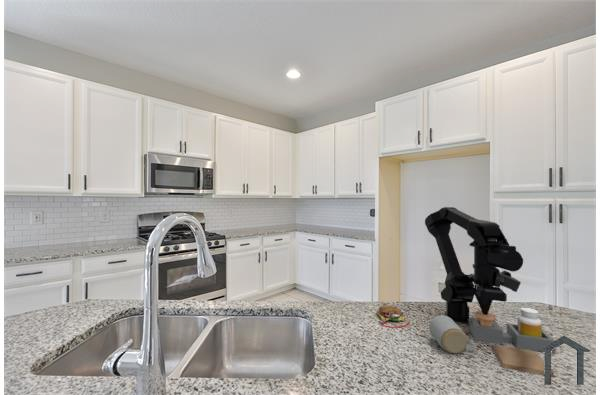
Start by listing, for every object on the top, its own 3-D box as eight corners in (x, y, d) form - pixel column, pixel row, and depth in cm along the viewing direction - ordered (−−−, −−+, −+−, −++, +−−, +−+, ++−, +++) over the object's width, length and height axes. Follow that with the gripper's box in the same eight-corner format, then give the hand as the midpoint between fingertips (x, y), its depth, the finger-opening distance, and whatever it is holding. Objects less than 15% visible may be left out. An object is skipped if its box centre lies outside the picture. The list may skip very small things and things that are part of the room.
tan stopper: (477, 334, 83) (477, 316, 84) (473, 327, 88) (473, 310, 88) (497, 338, 82) (497, 319, 82) (492, 330, 86) (492, 312, 86)
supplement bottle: (546, 349, 78) (546, 314, 78) (524, 347, 79) (524, 312, 79) (534, 340, 83) (534, 307, 83) (513, 338, 84) (513, 306, 84)
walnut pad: (503, 367, 69) (503, 363, 69) (491, 347, 78) (491, 344, 78) (553, 376, 65) (553, 372, 65) (535, 355, 75) (535, 351, 75)
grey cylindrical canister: (441, 355, 74) (441, 326, 74) (428, 339, 83) (429, 313, 83) (481, 357, 74) (482, 328, 74) (465, 341, 82) (465, 315, 82)
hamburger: (363, 312, 104) (363, 296, 104) (400, 312, 105) (400, 296, 105) (375, 329, 90) (375, 310, 90) (417, 328, 91) (417, 310, 91)
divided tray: (475, 341, 82) (475, 327, 82) (469, 328, 90) (469, 316, 90) (555, 354, 75) (555, 339, 75) (541, 339, 83) (541, 326, 83)
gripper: (529, 273, 74) (529, 332, 73) (506, 259, 91) (506, 307, 91) (480, 269, 78) (480, 325, 78) (467, 256, 95) (467, 302, 95)
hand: (485, 314), depth 85 cm, fingers closed, pressing on tan stopper
